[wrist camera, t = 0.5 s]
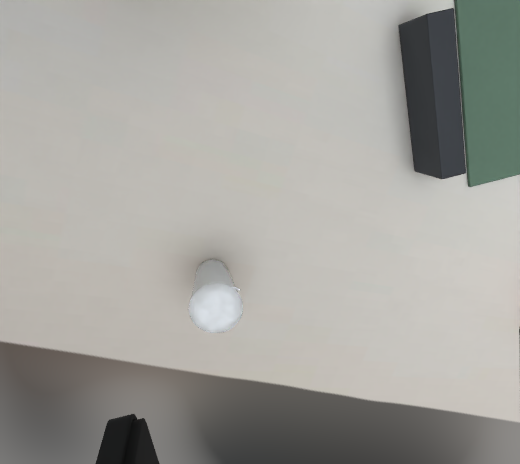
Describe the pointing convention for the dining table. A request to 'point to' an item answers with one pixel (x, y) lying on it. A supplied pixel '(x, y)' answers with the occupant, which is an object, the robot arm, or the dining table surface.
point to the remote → (433, 94)
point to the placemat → (490, 87)
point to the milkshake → (215, 298)
